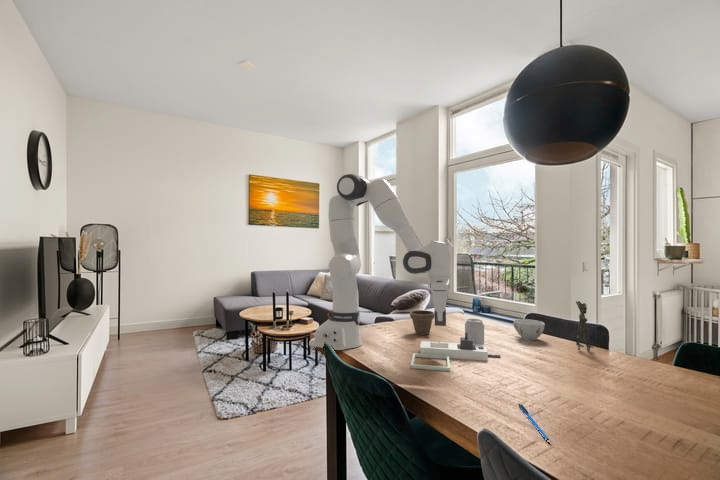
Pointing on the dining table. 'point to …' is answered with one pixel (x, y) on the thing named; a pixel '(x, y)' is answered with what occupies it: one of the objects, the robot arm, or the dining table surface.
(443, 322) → the dark grey block
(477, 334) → the can
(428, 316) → the flower pot
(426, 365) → the tray
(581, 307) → the statue
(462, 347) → the twin plug
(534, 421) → the pen
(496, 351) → the dining table surface
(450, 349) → the white power strip
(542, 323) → the teacup
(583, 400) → the dining table surface
